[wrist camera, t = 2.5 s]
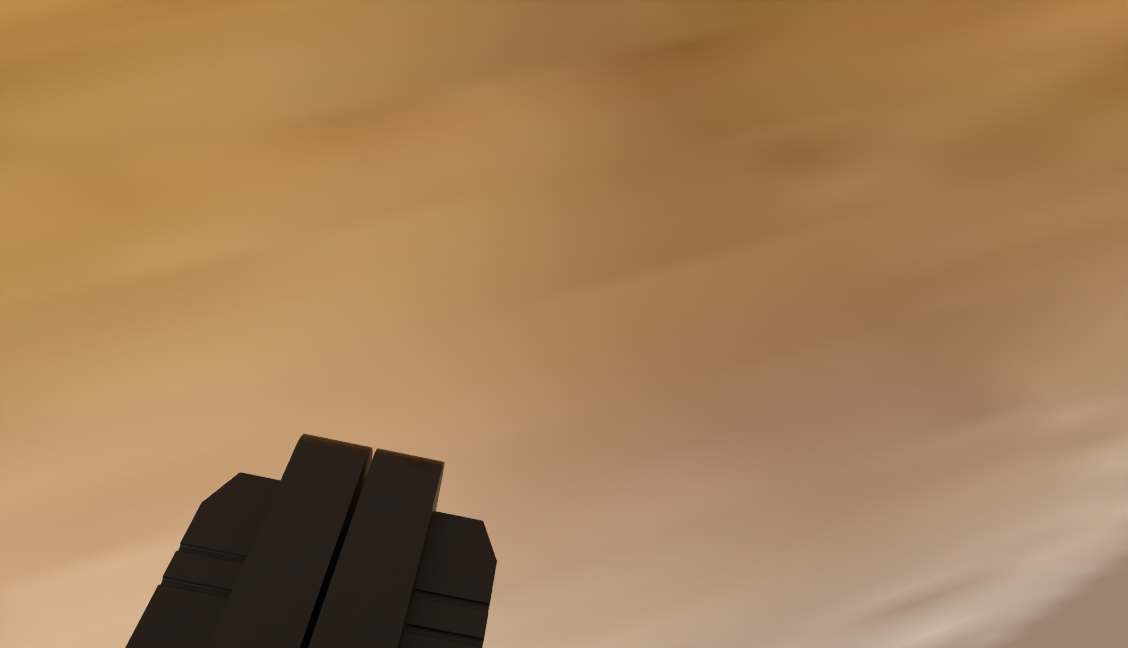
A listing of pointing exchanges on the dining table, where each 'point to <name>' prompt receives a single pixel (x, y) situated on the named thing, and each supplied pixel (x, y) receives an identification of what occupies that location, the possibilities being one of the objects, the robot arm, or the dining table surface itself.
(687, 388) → the dining table surface
